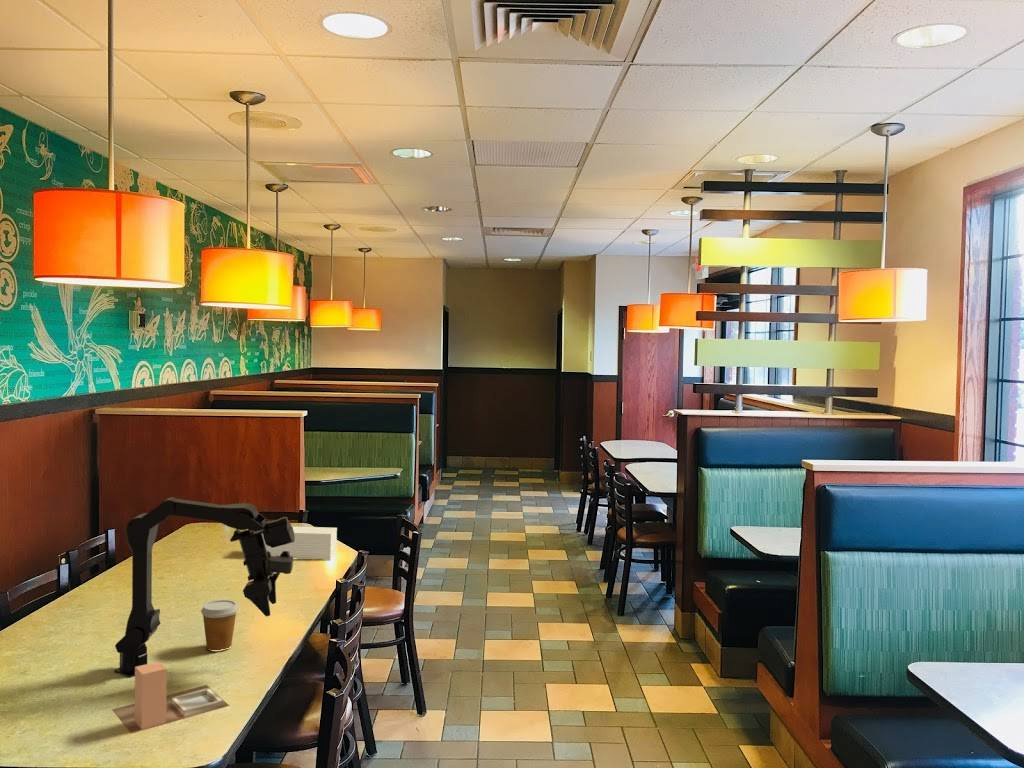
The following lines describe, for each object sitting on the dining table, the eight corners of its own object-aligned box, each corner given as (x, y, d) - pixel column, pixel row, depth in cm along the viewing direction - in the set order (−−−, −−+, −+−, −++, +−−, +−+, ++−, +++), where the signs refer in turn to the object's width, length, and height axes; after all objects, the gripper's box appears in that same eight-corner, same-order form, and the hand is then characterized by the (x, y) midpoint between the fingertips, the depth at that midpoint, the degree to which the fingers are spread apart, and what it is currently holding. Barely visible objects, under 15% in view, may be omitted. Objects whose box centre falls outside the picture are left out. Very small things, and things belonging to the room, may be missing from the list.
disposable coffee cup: (241, 641, 220) (242, 599, 220) (230, 654, 211) (231, 610, 210) (207, 641, 220) (208, 598, 220) (195, 654, 211) (195, 610, 210)
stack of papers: (336, 554, 318) (336, 527, 317) (330, 561, 307) (331, 533, 306) (257, 551, 317) (257, 525, 317) (248, 558, 307) (249, 531, 306)
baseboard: (112, 713, 176) (112, 704, 175) (206, 688, 190) (206, 680, 190) (131, 737, 165) (131, 727, 165) (229, 709, 179) (229, 700, 179)
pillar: (134, 721, 170) (135, 666, 170) (158, 714, 174) (159, 661, 173) (141, 729, 167) (142, 674, 166) (166, 723, 170) (166, 668, 170)
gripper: (280, 553, 193) (297, 613, 194) (291, 534, 211) (306, 589, 213) (235, 566, 191) (252, 626, 193) (249, 546, 210) (265, 600, 211)
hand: (271, 609), depth 202 cm, fingers open, 9 cm apart
